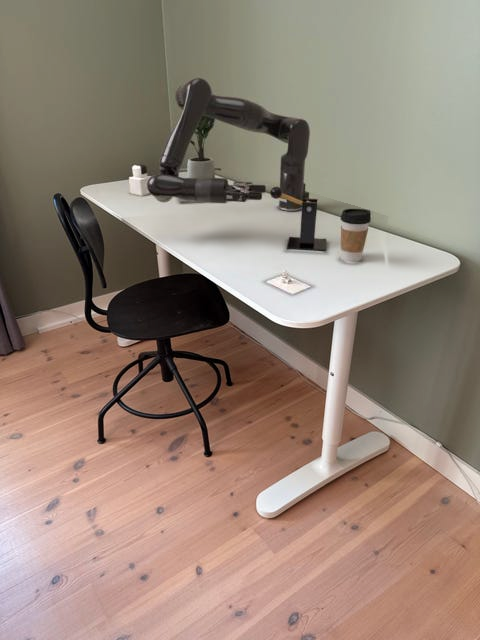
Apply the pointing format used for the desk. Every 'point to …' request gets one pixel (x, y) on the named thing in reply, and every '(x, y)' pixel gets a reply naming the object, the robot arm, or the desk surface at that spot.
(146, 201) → the desk surface
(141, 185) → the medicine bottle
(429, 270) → the desk surface
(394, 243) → the desk surface
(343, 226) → the coffee cup
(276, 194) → the black ball knob lever
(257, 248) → the desk surface
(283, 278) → the adhesive hook
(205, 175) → the potted plant
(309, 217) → the black lever stand
